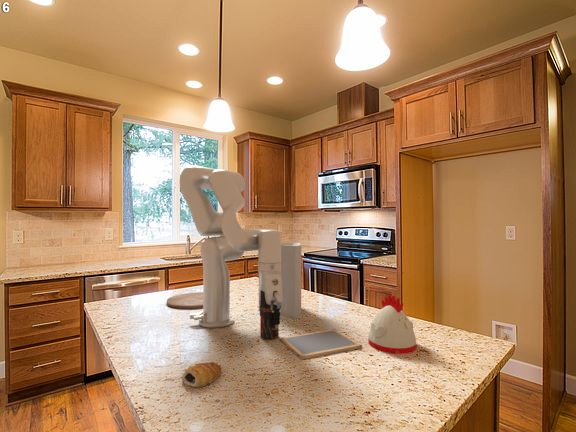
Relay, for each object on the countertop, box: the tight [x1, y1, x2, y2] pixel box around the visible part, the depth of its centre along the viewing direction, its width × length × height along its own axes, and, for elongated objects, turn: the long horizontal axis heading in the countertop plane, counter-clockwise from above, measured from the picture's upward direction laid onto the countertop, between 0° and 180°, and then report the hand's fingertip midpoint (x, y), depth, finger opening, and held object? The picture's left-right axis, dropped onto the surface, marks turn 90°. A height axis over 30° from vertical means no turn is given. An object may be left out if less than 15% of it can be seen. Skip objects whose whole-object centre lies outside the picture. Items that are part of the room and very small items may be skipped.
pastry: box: [181, 361, 222, 388], centre depth 77 cm, size 9×7×4 cm
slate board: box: [280, 328, 363, 360], centre depth 98 cm, size 20×15×1 cm
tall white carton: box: [258, 242, 302, 320], centre depth 134 cm, size 19×15×28 cm
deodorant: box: [259, 290, 280, 341], centre depth 104 cm, size 6×6×15 cm
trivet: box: [166, 291, 203, 310], centre depth 148 cm, size 25×25×2 cm
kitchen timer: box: [368, 294, 417, 355], centre depth 98 cm, size 14×14×15 cm
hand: (269, 320), depth 104 cm, fingers open, 9 cm apart
